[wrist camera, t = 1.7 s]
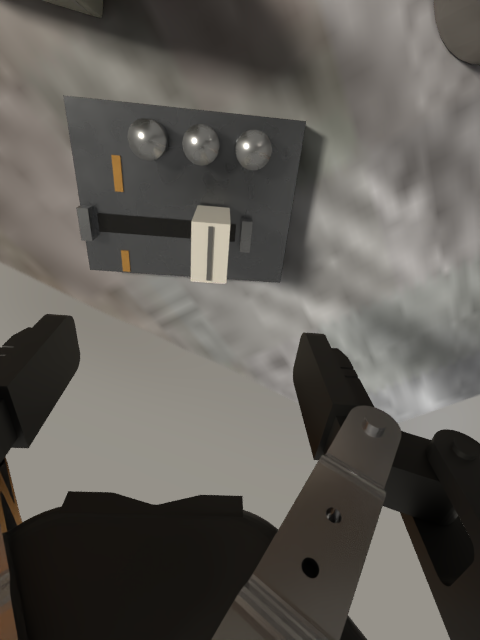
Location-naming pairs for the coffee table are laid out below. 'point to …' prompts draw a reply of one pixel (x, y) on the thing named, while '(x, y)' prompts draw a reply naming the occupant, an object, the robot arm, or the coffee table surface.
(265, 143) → the console
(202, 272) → the fader tab
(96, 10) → the digital clock
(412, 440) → the robot arm
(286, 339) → the coffee table surface
